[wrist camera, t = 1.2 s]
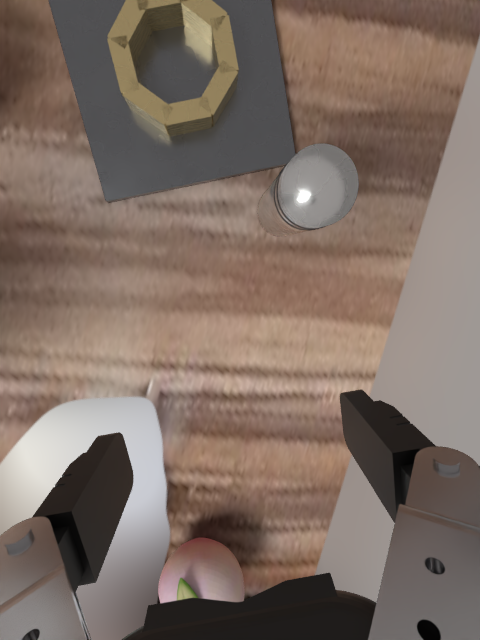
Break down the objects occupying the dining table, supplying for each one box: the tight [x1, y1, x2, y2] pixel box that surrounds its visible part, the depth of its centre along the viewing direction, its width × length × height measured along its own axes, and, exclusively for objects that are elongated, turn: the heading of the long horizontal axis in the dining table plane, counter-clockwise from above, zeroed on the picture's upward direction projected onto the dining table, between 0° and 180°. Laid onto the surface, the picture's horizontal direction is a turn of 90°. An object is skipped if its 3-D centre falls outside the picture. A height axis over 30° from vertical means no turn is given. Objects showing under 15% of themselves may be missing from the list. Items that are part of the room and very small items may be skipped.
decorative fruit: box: [158, 538, 244, 603], centre depth 34 cm, size 9×8×10 cm
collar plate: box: [49, 0, 295, 203], centre depth 27 cm, size 18×18×3 cm
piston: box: [257, 144, 359, 236], centre depth 25 cm, size 5×5×12 cm
